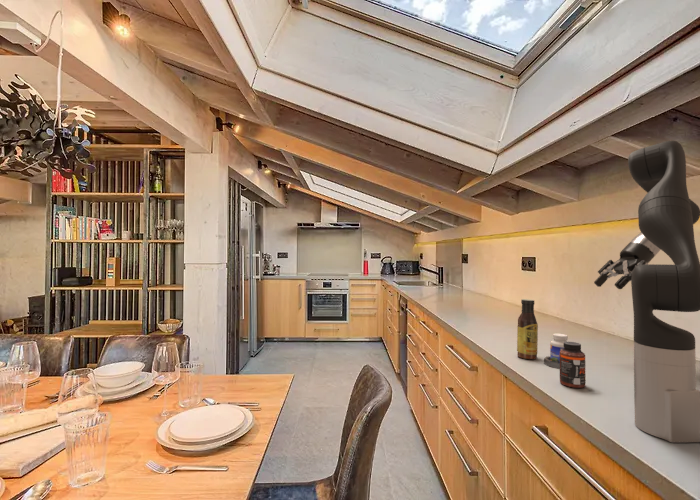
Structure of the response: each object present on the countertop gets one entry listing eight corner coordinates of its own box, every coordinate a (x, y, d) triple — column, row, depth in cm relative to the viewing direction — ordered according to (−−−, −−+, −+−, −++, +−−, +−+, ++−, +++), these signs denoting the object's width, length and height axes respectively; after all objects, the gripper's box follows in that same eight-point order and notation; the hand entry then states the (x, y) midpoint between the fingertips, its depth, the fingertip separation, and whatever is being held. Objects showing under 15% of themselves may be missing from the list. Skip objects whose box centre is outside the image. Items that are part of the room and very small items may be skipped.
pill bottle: (546, 362, 114) (546, 333, 115) (562, 362, 115) (562, 332, 115) (557, 368, 109) (557, 336, 109) (574, 367, 109) (573, 336, 109)
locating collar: (579, 369, 108) (579, 363, 108) (554, 369, 108) (554, 363, 108) (563, 361, 116) (563, 356, 116) (539, 361, 116) (539, 356, 116)
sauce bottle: (528, 361, 116) (528, 301, 116) (513, 356, 122) (512, 299, 122) (542, 358, 119) (541, 300, 119) (526, 354, 124) (525, 298, 125)
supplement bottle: (584, 390, 91) (584, 347, 91) (558, 385, 94) (557, 343, 94) (586, 384, 95) (586, 342, 96) (561, 379, 99) (560, 339, 99)
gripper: (615, 242, 118) (582, 276, 117) (653, 240, 103) (616, 279, 103) (631, 258, 118) (598, 292, 117) (671, 258, 103) (634, 297, 103)
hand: (606, 286), depth 110 cm, fingers open, 8 cm apart
